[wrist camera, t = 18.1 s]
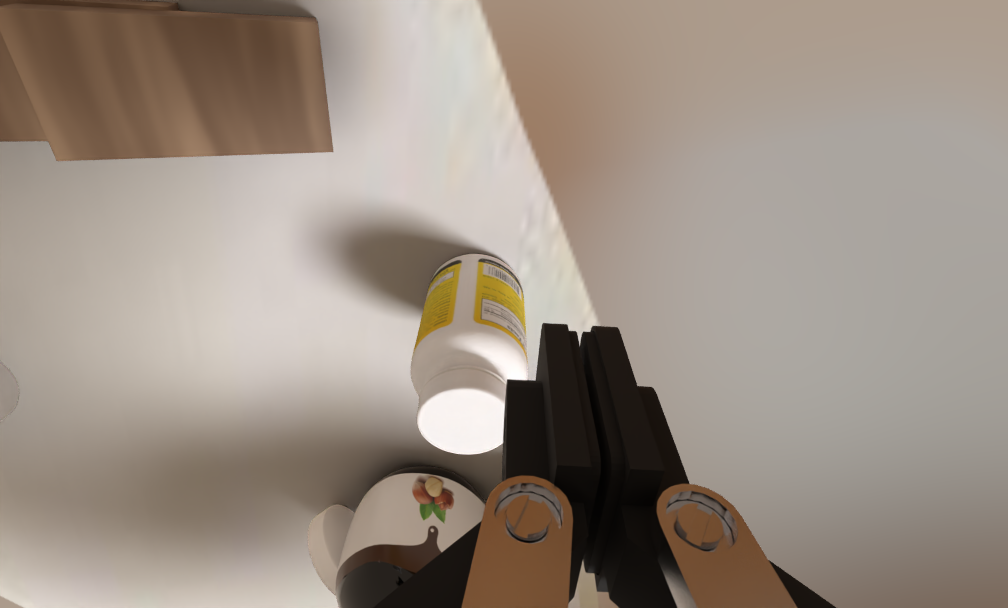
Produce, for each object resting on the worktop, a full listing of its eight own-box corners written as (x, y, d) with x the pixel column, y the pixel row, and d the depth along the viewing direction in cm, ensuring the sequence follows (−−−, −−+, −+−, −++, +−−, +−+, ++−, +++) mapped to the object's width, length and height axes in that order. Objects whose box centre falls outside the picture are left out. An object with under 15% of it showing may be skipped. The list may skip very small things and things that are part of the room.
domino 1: (167, 7, 19) (-195, -16, 16) (201, 139, 22) (-101, 142, 19) (177, 2, 20) (-151, -19, 17) (207, 126, 23) (-71, 128, 20)
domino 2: (317, 22, 19) (-10, 8, 16) (333, 151, 22) (56, 160, 19) (315, 17, 21) (16, 2, 18) (330, 138, 23) (74, 145, 20)
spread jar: (509, 492, 39) (509, 666, 29) (435, 556, 44) (414, 722, 34) (369, 430, 35) (316, 607, 25) (307, 509, 40) (242, 680, 30)
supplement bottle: (434, 331, 30) (406, 466, 22) (423, 251, 27) (387, 374, 19) (524, 329, 30) (530, 465, 22) (524, 249, 27) (530, 372, 19)
